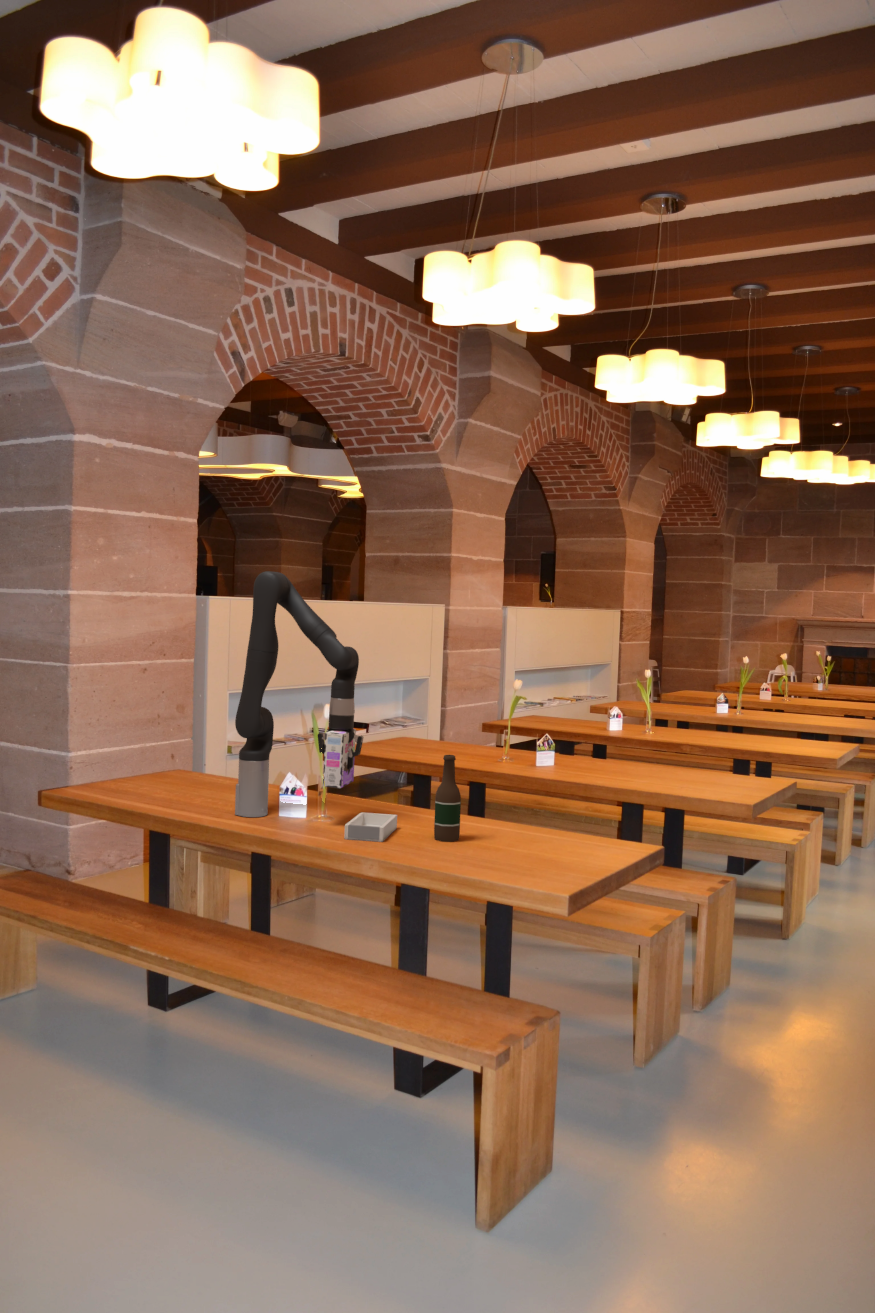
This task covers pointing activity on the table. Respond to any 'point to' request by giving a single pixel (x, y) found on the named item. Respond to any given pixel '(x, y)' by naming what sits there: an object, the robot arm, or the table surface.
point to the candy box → (337, 759)
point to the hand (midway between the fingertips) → (339, 768)
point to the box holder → (370, 827)
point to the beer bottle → (447, 804)
